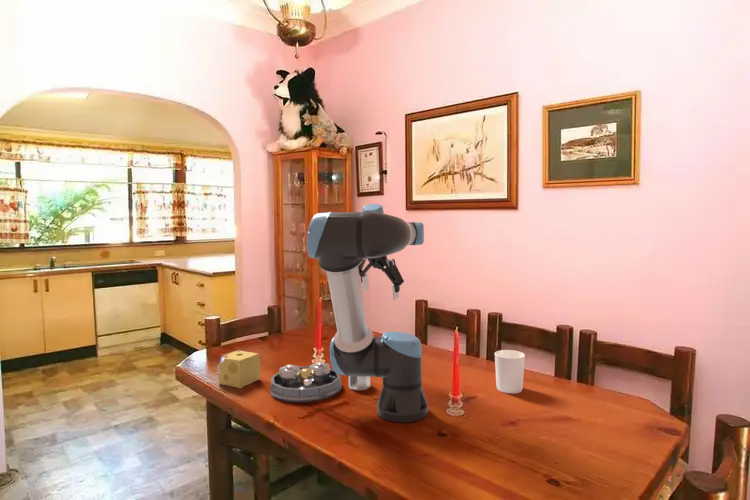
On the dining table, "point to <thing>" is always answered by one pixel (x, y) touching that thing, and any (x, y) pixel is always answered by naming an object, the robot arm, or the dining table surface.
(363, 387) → the octagonal hollow container
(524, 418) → the dining table surface
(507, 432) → the dining table surface
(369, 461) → the dining table surface
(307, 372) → the carrier
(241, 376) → the cheese
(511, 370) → the white tapered cup
